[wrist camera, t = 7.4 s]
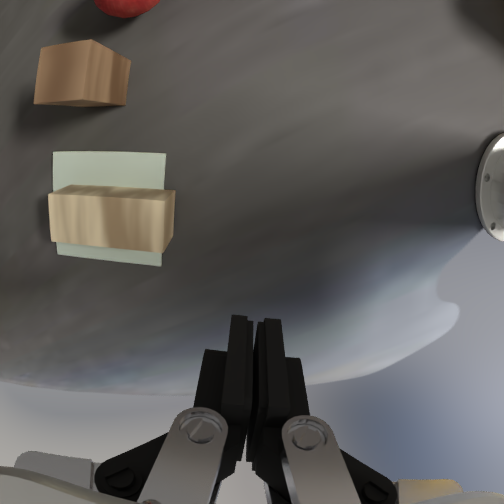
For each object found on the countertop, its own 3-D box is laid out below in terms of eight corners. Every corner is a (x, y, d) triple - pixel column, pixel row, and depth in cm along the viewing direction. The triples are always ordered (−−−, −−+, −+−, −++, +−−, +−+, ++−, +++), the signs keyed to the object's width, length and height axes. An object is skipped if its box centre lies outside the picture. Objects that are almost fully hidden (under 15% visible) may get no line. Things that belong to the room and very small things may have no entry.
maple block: (164, 200, 22) (48, 193, 21) (163, 253, 24) (51, 241, 23) (175, 190, 26) (70, 184, 25) (173, 235, 27) (72, 226, 26)
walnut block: (131, 60, 22) (91, 39, 14) (125, 105, 23) (82, 99, 16) (89, 63, 21) (41, 47, 14) (84, 106, 23) (33, 104, 15)
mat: (166, 153, 25) (165, 153, 25) (161, 265, 29) (160, 266, 28) (54, 151, 24) (53, 151, 24) (58, 253, 28) (57, 254, 27)
